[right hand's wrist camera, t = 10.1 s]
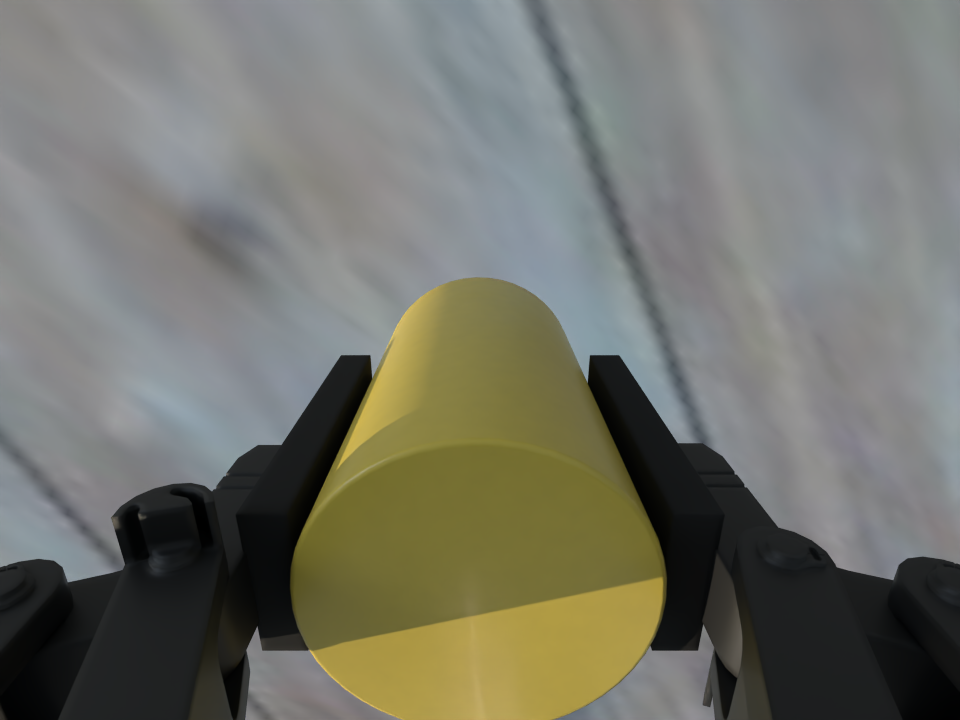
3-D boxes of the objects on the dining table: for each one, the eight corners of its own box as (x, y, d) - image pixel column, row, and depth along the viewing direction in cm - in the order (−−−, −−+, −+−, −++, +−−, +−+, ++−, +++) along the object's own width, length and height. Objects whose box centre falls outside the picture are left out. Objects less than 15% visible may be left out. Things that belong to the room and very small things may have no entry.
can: (467, 474, 19) (456, 779, 10) (351, 353, 17) (206, 585, 8) (605, 377, 17) (739, 626, 8) (493, 237, 16) (510, 358, 7)
